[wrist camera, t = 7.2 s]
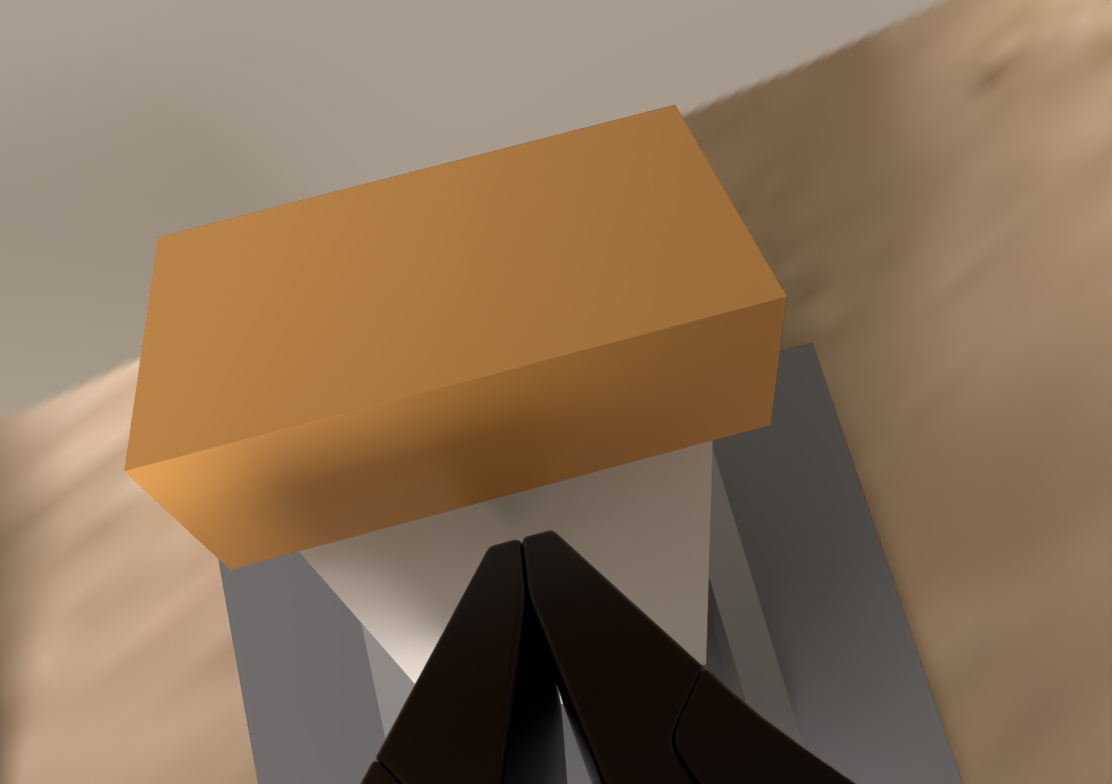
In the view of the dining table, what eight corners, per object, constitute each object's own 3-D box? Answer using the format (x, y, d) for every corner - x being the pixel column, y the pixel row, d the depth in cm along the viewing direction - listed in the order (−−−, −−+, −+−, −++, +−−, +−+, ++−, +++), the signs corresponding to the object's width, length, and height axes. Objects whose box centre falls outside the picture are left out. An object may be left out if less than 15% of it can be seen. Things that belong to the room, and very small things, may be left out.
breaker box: (957, 935, 19) (1096, 1074, 14) (380, 1100, 18) (309, 1306, 13) (774, 375, 22) (834, 322, 17) (267, 510, 21) (172, 498, 16)
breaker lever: (738, 677, 15) (786, 296, 7) (435, 760, 15) (124, 471, 7) (684, 533, 17) (674, 104, 9) (416, 605, 17) (158, 237, 9)
